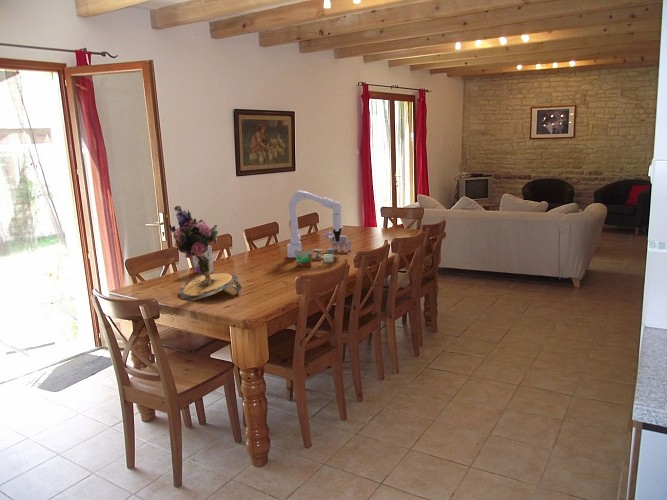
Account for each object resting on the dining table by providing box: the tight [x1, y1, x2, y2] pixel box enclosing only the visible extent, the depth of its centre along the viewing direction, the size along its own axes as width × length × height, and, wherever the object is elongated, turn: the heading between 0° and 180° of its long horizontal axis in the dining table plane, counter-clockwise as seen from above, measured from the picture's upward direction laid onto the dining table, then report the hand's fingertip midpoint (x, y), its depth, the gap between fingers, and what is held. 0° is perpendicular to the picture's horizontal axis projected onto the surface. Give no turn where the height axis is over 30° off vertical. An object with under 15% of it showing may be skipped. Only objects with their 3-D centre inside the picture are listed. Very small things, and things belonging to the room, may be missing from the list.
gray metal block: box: [326, 247, 335, 258], centre depth 355 cm, size 4×4×5 cm
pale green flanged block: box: [323, 253, 334, 263], centre depth 342 cm, size 6×8×4 cm
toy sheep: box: [323, 231, 352, 254], centre depth 371 cm, size 20×11×14 cm, turn 70°
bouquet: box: [168, 205, 243, 302], centre depth 275 cm, size 33×44×45 cm
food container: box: [294, 249, 314, 268], centre depth 329 cm, size 12×6×10 cm, turn 62°
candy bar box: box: [191, 245, 215, 274], centre depth 321 cm, size 11×5×16 cm, turn 74°
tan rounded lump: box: [312, 248, 324, 261], centre depth 349 cm, size 8×8×6 cm
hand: (337, 240), depth 357 cm, fingers open, 7 cm apart
